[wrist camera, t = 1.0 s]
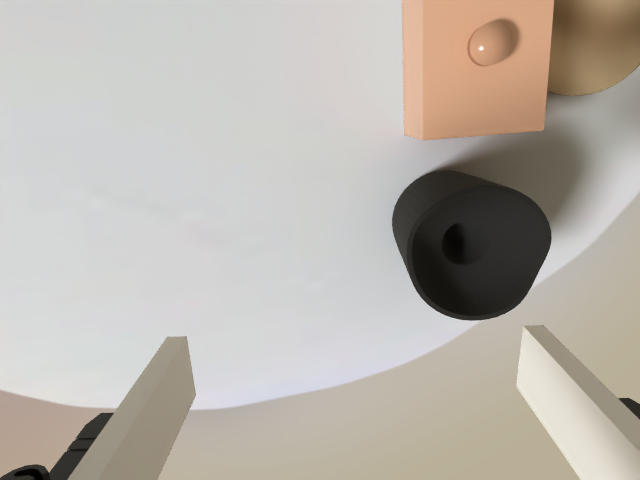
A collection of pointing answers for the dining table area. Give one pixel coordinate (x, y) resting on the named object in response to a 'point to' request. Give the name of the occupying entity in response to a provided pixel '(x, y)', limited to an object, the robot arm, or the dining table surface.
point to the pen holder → (469, 243)
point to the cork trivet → (593, 45)
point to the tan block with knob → (475, 66)
